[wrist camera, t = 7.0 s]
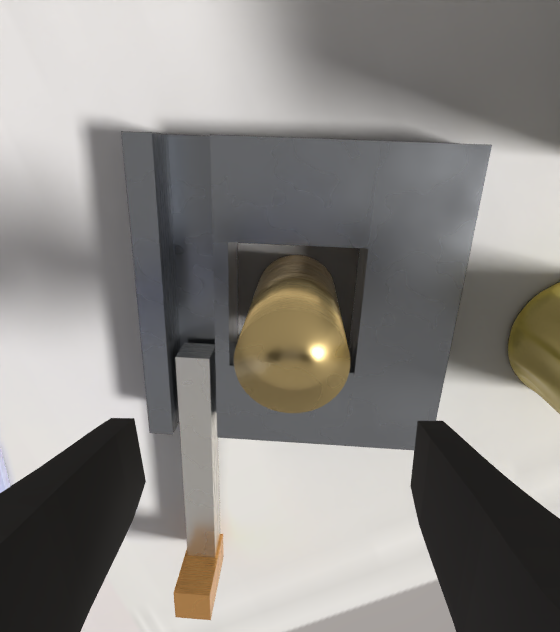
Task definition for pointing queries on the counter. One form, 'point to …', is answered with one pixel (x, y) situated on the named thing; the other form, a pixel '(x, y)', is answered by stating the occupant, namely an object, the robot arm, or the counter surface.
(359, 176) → the socket
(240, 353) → the gold cylinder
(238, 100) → the counter surface
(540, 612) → the robot arm
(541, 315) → the vase
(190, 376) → the lock pin
